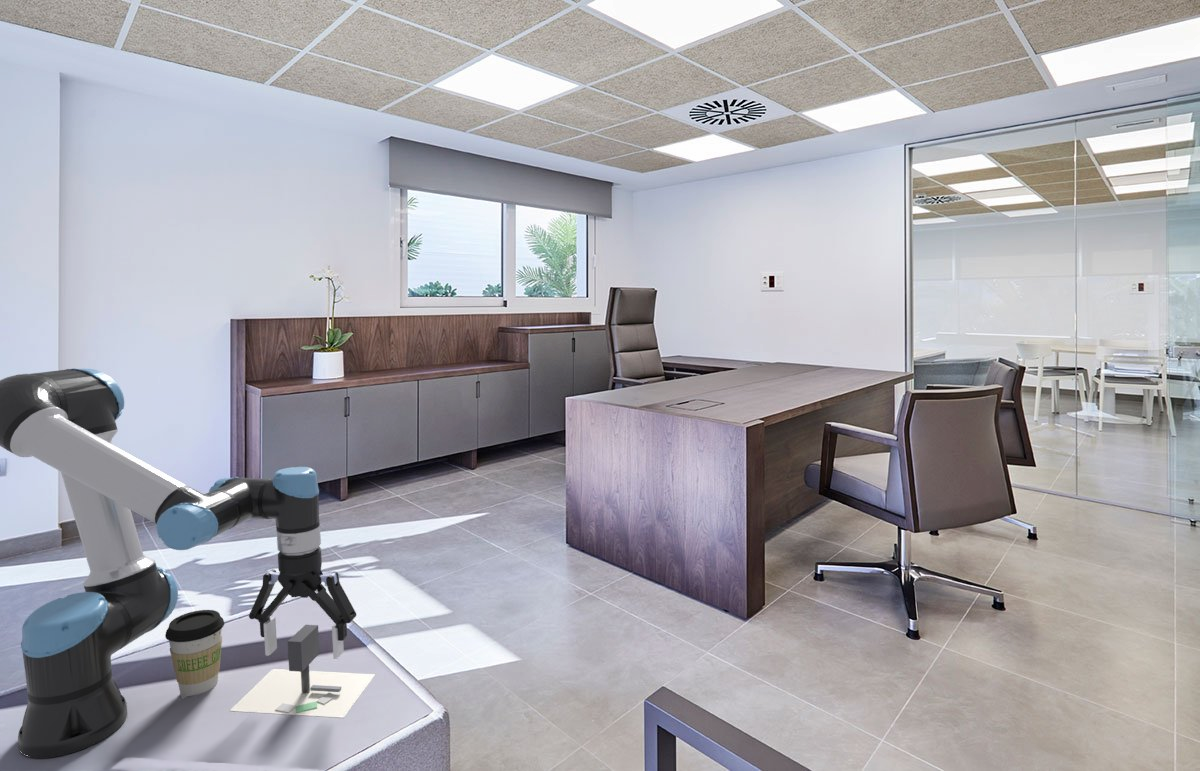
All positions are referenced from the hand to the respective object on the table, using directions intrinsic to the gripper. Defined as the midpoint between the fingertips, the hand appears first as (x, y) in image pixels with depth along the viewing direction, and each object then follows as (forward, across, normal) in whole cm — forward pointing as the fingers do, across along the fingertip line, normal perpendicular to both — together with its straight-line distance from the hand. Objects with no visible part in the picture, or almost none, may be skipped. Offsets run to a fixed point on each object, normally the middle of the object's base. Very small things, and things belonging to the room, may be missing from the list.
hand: (304, 653), depth 124 cm
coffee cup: (+9, -22, 0) cm, 24 cm away
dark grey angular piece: (+8, +3, 0) cm, 8 cm away
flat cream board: (+9, 0, 0) cm, 9 cm away
